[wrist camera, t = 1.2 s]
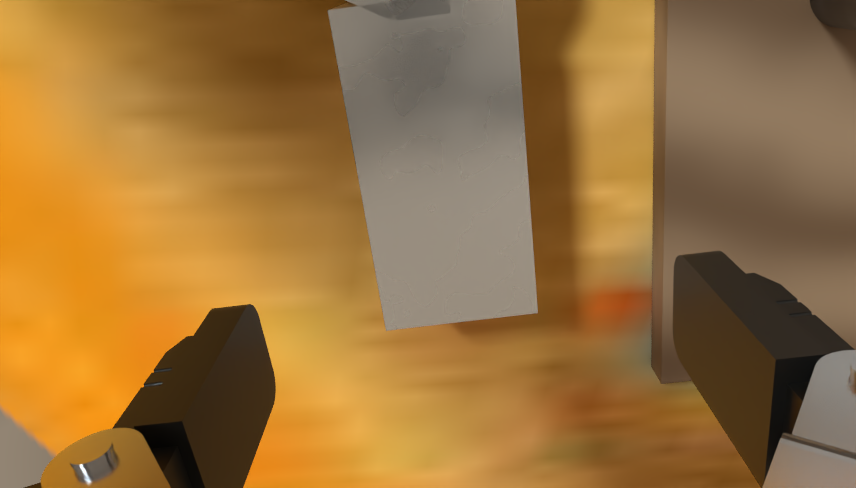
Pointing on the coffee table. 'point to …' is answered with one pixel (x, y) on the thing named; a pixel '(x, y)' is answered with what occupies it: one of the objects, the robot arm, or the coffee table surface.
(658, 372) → the hinge base
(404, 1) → the hinge leaf
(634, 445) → the coffee table surface
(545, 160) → the coffee table surface
